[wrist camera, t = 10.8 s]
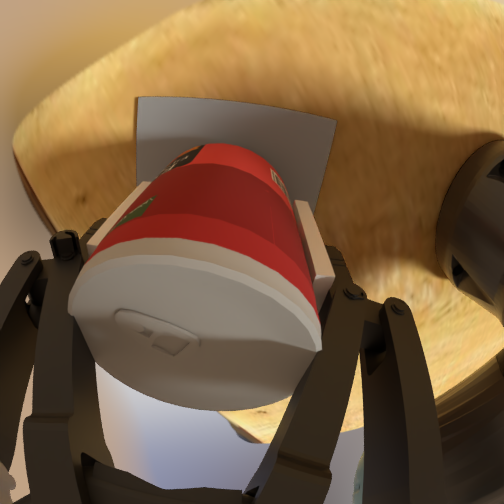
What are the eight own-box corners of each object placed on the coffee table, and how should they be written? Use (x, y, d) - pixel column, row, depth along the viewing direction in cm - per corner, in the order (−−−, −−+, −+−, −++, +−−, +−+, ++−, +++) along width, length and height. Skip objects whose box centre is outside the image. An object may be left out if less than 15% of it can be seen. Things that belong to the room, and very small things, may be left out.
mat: (335, 119, 15) (337, 120, 14) (294, 274, 22) (294, 277, 21) (140, 96, 14) (138, 97, 14) (143, 255, 21) (141, 258, 20)
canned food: (181, 120, 14) (57, 204, 5) (311, 173, 15) (384, 318, 6) (148, 230, 18) (76, 371, 9) (258, 269, 19) (259, 423, 10)
